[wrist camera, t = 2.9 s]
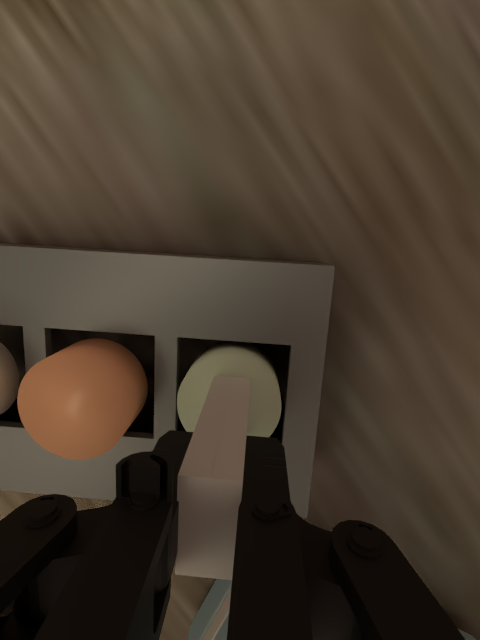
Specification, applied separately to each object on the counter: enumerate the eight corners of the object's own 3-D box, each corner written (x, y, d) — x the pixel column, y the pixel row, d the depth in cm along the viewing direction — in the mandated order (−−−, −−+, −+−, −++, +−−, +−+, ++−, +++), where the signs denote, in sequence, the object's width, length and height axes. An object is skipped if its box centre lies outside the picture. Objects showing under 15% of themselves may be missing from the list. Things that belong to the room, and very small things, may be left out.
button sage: (187, 421, 18) (175, 449, 15) (189, 336, 17) (178, 351, 15) (274, 428, 18) (277, 457, 15) (282, 343, 17) (285, 359, 14)
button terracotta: (55, 425, 17) (20, 454, 14) (51, 334, 16) (13, 350, 14) (147, 432, 17) (128, 464, 14) (148, 341, 16) (127, 358, 13)
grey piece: (-30, 440, 22) (-93, 481, 18) (-50, 239, 19) (-128, 237, 16) (298, 468, 21) (307, 518, 17) (319, 262, 19) (335, 266, 15)
